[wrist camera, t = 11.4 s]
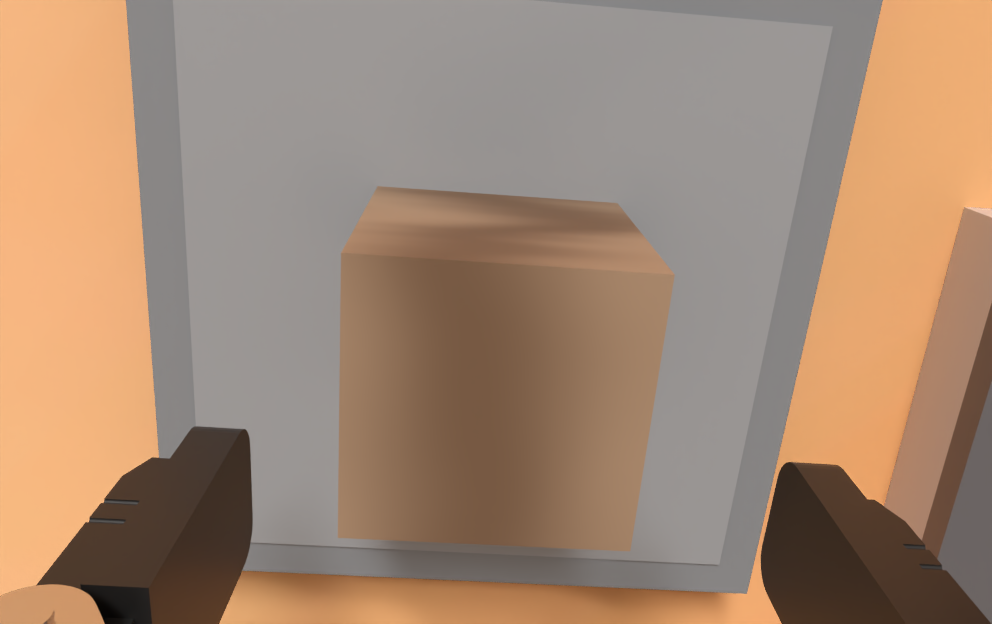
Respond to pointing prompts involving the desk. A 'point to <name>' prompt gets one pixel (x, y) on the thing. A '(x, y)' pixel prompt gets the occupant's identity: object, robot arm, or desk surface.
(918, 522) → the felt board eraser
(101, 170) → the desk surface
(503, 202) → the walnut cube
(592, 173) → the slate platform
